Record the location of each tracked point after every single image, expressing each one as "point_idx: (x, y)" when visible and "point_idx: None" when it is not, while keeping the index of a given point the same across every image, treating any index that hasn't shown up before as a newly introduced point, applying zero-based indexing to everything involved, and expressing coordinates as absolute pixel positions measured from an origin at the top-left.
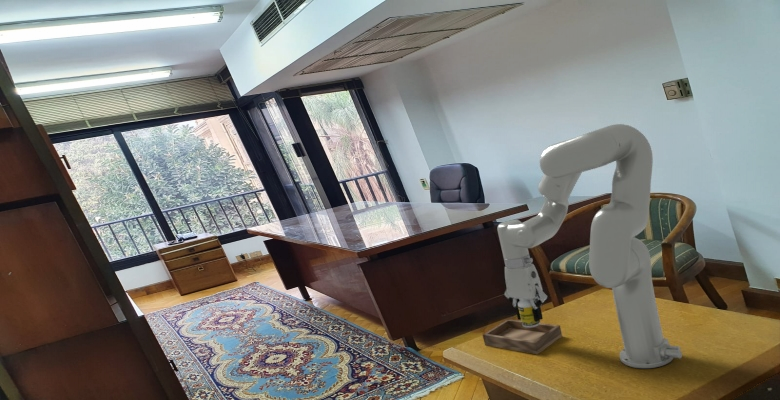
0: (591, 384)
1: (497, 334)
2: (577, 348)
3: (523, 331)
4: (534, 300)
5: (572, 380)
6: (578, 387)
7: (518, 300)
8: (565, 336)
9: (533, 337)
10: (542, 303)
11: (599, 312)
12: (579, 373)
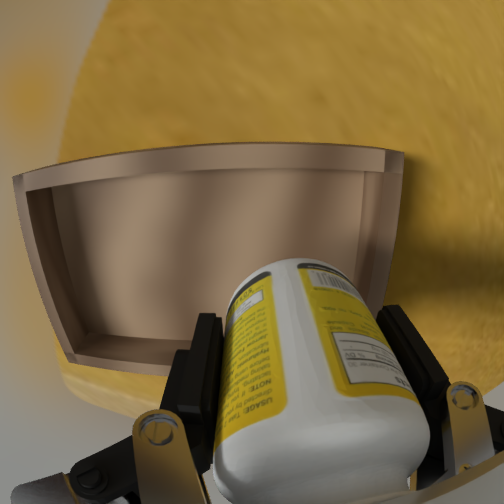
0: (497, 371)
1: (68, 280)
2: (468, 242)
3: (143, 192)
4: (426, 446)
5: (470, 381)
6: (479, 389)
7: (161, 462)
8: (388, 142)
9: (257, 242)
10: (494, 409)
11: None
12: (482, 356)
